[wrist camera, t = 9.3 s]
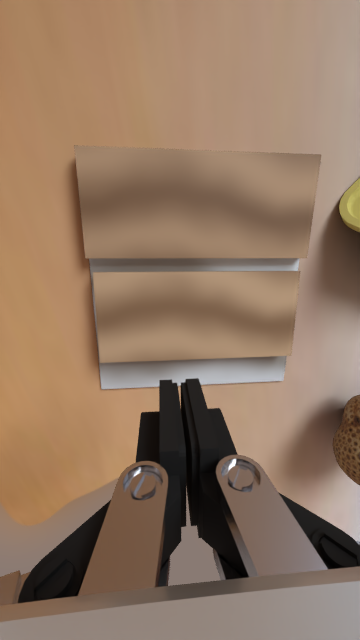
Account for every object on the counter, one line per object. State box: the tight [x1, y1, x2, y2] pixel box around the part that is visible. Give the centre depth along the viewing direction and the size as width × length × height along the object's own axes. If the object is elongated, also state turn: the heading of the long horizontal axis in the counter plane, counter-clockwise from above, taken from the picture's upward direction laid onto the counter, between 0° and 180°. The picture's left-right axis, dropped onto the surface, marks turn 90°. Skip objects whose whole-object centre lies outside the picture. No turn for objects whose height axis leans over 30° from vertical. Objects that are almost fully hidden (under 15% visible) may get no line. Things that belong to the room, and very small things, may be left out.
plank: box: [93, 271, 300, 363], centre depth 23 cm, size 8×18×1 cm, turn 90°
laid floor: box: [74, 145, 321, 389], centre depth 23 cm, size 21×19×1 cm
